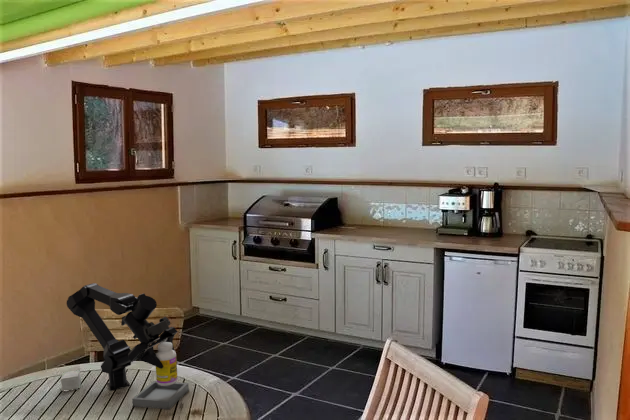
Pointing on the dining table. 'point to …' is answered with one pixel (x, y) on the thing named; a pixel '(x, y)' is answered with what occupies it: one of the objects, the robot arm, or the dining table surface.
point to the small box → (71, 380)
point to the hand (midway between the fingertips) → (169, 363)
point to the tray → (160, 395)
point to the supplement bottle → (166, 364)
